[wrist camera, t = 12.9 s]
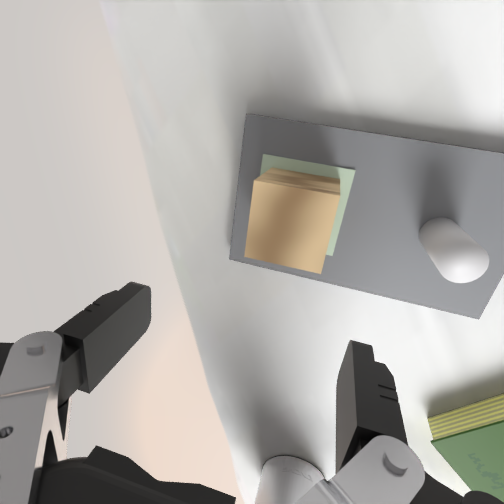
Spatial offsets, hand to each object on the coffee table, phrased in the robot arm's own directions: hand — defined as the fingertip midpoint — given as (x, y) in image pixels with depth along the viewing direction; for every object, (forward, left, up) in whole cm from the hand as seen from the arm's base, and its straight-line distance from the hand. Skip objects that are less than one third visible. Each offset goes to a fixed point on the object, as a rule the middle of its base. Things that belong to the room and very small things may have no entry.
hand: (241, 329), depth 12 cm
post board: (0, -6, -20) cm, 21 cm away
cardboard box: (0, 0, -18) cm, 18 cm away
